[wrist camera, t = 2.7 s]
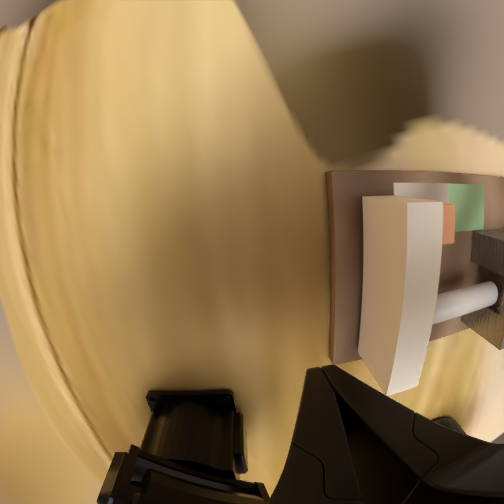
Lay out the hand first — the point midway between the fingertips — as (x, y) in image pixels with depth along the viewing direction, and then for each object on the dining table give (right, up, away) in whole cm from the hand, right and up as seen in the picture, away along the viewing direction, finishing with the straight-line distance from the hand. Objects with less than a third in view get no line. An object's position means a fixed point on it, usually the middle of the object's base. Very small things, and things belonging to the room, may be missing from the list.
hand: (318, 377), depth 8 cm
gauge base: (+11, +3, +9) cm, 15 cm away
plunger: (+9, +3, +7) cm, 12 cm away
